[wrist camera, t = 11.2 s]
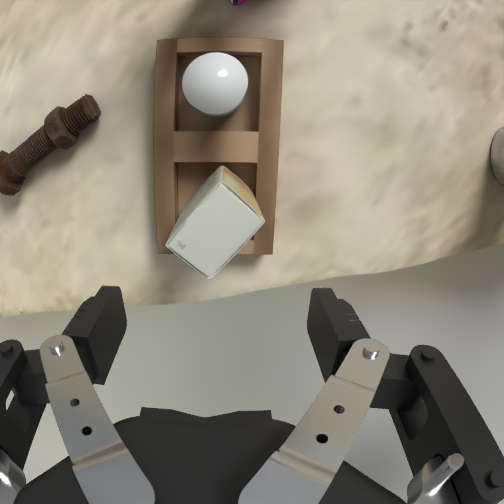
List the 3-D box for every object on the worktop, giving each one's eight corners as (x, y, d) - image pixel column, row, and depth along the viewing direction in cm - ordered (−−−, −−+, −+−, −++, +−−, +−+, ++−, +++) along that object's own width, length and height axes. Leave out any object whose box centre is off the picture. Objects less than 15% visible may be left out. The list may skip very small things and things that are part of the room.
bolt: (109, 111, 30) (21, 176, 31) (87, 79, 26) (-2, 150, 27) (103, 134, 26) (9, 204, 27) (77, 96, 22) (-18, 177, 23)
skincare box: (213, 230, 34) (207, 285, 23) (183, 205, 33) (160, 249, 21) (254, 187, 32) (268, 222, 21) (223, 159, 31) (220, 179, 20)
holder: (278, 47, 27) (283, 40, 24) (268, 243, 36) (272, 254, 33) (163, 46, 26) (157, 39, 23) (163, 243, 35) (158, 253, 32)
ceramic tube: (245, 69, 27) (250, 52, 20) (243, 117, 29) (247, 114, 22) (193, 69, 27) (182, 52, 20) (191, 117, 29) (179, 114, 22)
